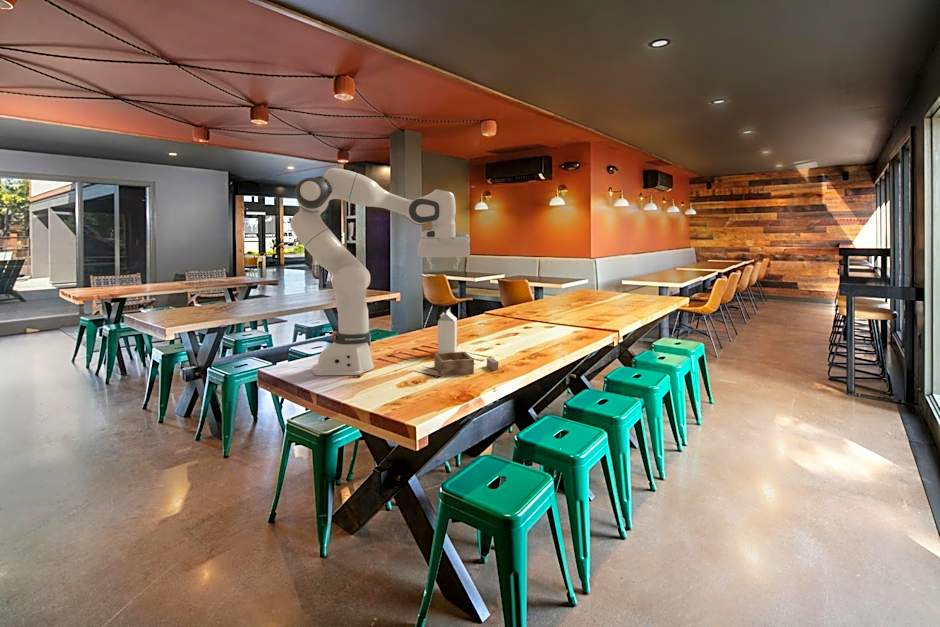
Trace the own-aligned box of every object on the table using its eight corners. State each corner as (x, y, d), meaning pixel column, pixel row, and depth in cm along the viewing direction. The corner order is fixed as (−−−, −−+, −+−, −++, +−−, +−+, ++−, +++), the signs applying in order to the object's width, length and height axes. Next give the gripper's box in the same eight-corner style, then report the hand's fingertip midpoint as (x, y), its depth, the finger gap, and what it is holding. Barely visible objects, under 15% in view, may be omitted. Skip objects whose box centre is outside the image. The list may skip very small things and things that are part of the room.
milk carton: (456, 352, 211) (457, 309, 208) (454, 356, 204) (454, 311, 201) (440, 352, 212) (440, 308, 209) (437, 356, 205) (437, 311, 202)
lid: (481, 377, 178) (482, 365, 177) (471, 368, 190) (471, 357, 189) (514, 375, 181) (514, 363, 181) (501, 366, 193) (502, 355, 192)
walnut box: (441, 377, 175) (441, 361, 174) (434, 368, 186) (434, 353, 185) (473, 375, 178) (473, 359, 177) (464, 366, 190) (464, 351, 189)
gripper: (467, 233, 194) (467, 268, 197) (416, 232, 189) (417, 268, 191) (472, 233, 188) (471, 269, 191) (419, 232, 183) (420, 269, 185)
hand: (444, 268), depth 191 cm, fingers open, 8 cm apart
